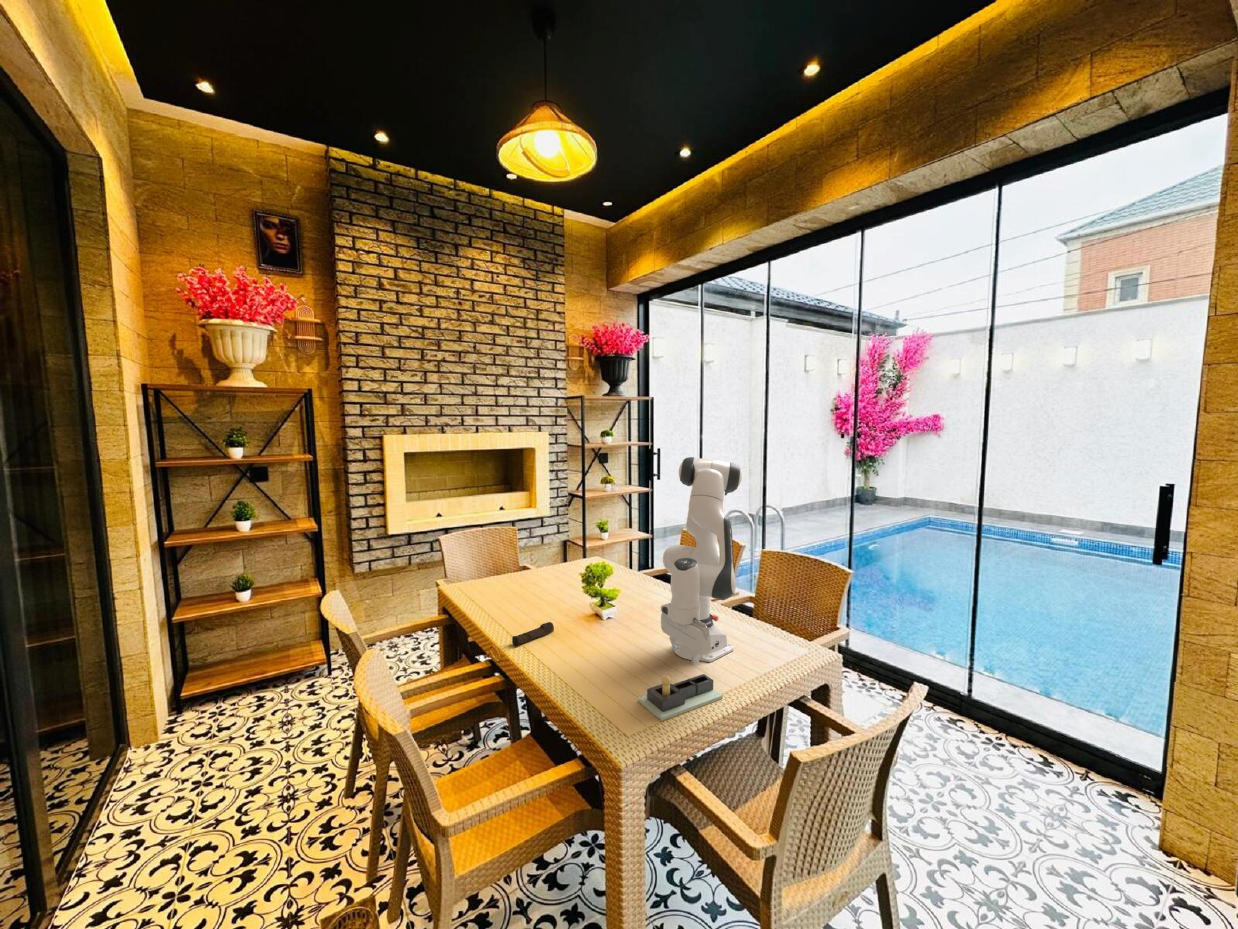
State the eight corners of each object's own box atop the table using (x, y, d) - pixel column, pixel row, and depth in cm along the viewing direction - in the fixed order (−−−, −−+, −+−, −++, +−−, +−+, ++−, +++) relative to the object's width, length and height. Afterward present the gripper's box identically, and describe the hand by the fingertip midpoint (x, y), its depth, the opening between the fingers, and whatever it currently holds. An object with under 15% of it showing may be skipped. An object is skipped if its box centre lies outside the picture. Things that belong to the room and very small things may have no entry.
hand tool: (517, 648, 186) (517, 636, 185) (511, 645, 189) (511, 633, 188) (557, 634, 199) (557, 622, 199) (551, 631, 202) (551, 620, 202)
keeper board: (696, 681, 162) (697, 655, 162) (722, 698, 152) (723, 670, 151) (638, 701, 150) (638, 672, 150) (661, 721, 140) (662, 690, 139)
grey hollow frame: (662, 712, 143) (663, 701, 143) (647, 699, 150) (647, 688, 149) (717, 692, 154) (717, 682, 153) (700, 681, 160) (700, 671, 160)
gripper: (716, 623, 143) (716, 668, 144) (673, 600, 160) (673, 641, 162) (699, 628, 140) (699, 674, 141) (657, 604, 157) (657, 646, 159)
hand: (685, 656), depth 152 cm, fingers open, 8 cm apart
